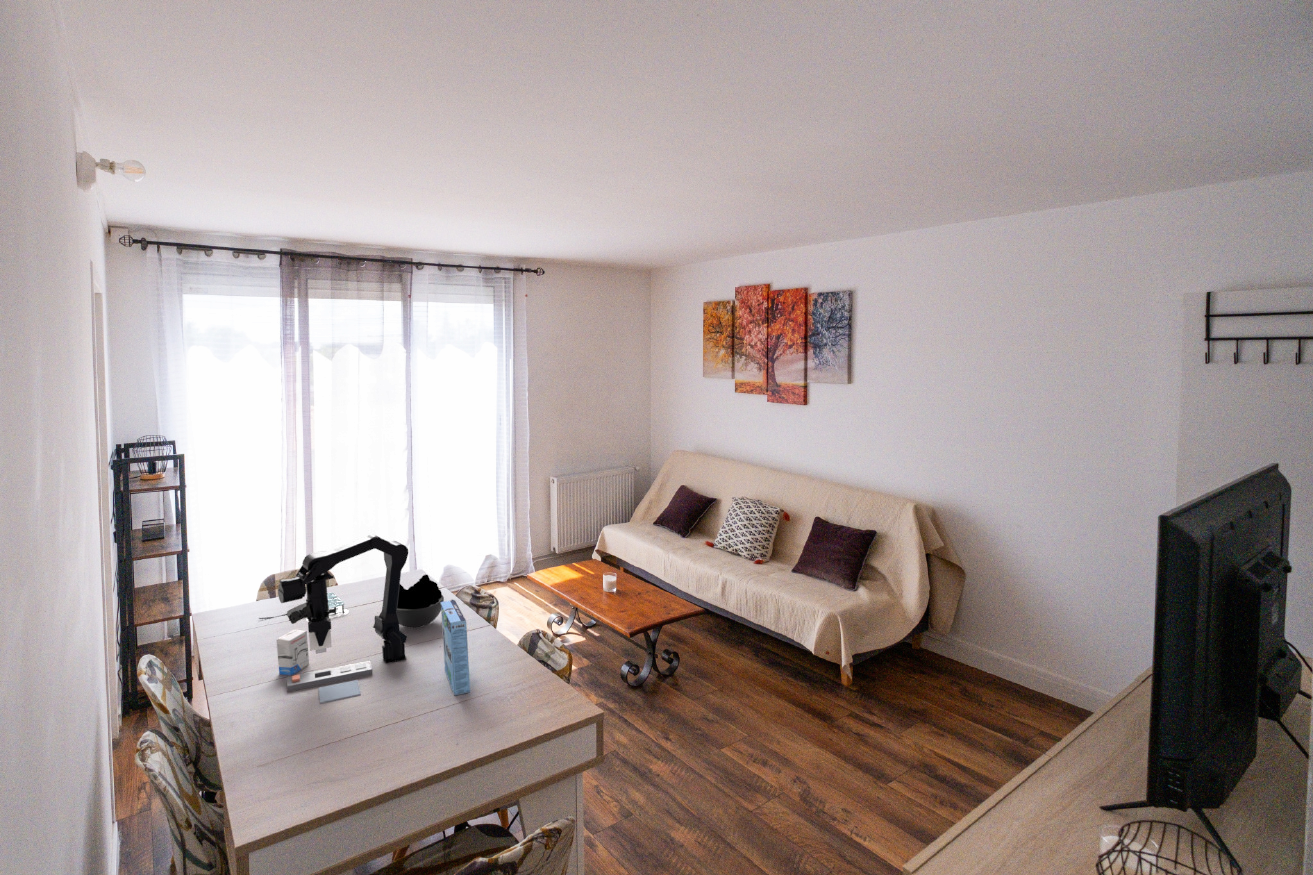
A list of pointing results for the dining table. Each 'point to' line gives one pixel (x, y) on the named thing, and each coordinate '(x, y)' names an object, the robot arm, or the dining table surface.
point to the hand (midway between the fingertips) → (320, 643)
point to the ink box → (292, 652)
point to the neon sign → (330, 607)
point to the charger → (315, 645)
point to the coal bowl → (419, 603)
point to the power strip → (328, 676)
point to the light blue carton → (455, 647)
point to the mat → (339, 691)
